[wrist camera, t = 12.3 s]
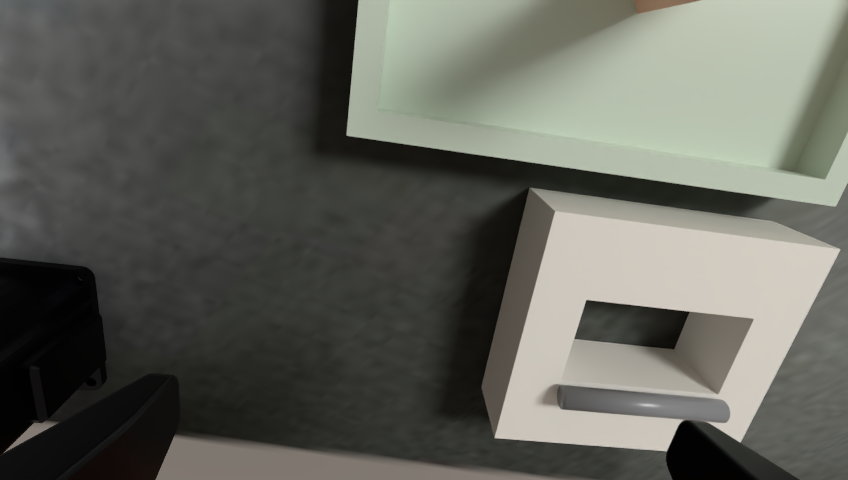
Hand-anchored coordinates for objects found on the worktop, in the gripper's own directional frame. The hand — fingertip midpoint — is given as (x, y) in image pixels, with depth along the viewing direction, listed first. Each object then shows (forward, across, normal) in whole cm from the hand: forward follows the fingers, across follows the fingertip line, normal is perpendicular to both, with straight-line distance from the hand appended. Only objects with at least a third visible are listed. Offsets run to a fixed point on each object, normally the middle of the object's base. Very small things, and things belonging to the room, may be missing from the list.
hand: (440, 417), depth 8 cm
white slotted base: (+13, -11, +4) cm, 17 cm away
